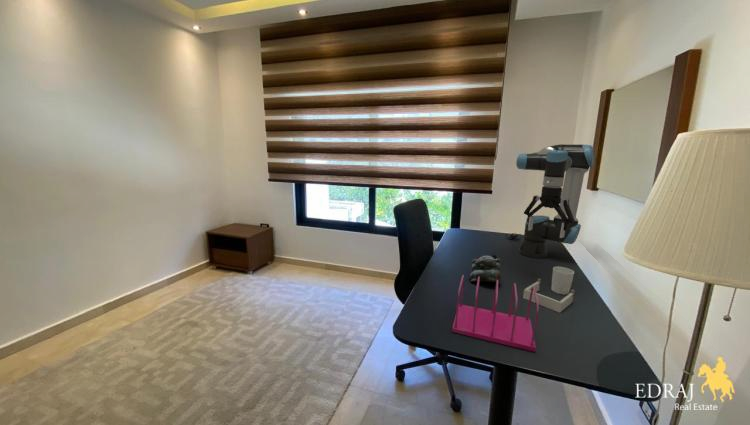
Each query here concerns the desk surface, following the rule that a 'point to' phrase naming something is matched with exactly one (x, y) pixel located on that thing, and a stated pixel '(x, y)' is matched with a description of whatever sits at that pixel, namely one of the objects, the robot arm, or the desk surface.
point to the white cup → (562, 280)
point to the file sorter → (496, 322)
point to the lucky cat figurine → (486, 269)
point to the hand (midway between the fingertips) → (545, 233)
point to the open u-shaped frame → (548, 301)
